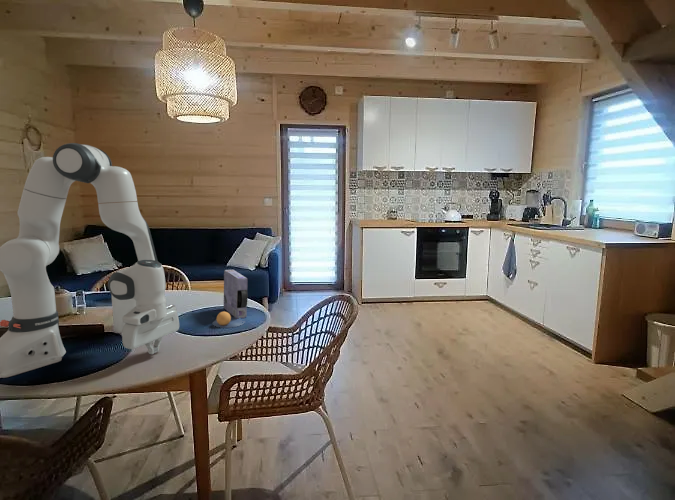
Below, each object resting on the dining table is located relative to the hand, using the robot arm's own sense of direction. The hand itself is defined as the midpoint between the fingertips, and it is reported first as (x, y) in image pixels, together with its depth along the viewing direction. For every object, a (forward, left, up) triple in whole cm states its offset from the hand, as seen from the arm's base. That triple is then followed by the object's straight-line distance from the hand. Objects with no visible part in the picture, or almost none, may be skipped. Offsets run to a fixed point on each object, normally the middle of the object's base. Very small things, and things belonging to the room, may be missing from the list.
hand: (153, 352), depth 137 cm
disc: (+38, 0, -2) cm, 39 cm away
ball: (+35, 0, +1) cm, 35 cm away
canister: (+18, +29, -2) cm, 34 cm away
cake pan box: (+50, +5, -2) cm, 50 cm away
